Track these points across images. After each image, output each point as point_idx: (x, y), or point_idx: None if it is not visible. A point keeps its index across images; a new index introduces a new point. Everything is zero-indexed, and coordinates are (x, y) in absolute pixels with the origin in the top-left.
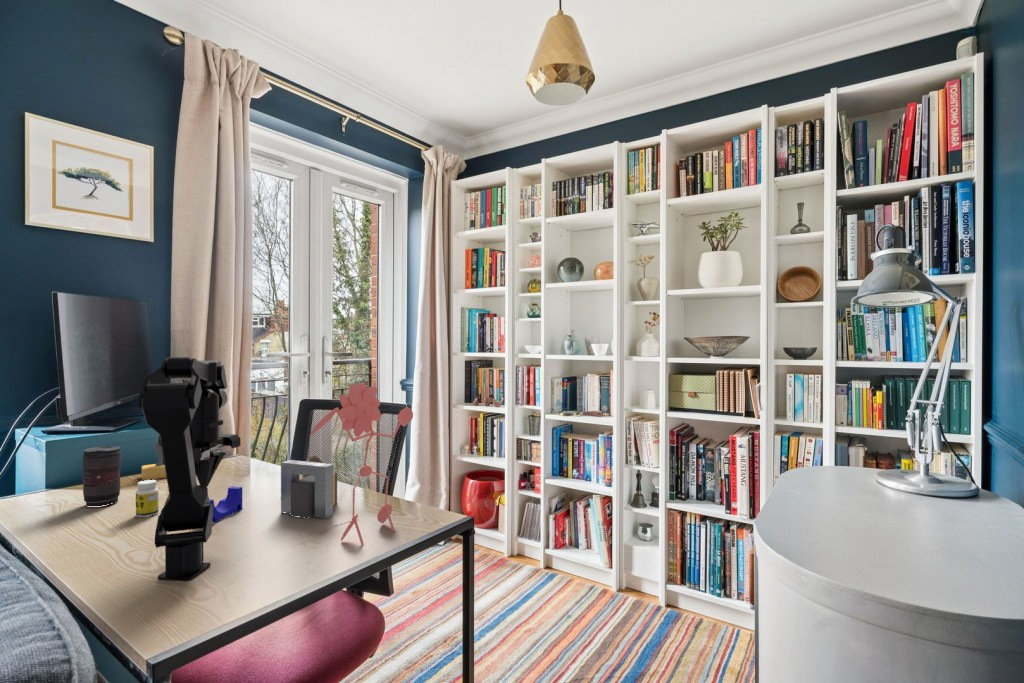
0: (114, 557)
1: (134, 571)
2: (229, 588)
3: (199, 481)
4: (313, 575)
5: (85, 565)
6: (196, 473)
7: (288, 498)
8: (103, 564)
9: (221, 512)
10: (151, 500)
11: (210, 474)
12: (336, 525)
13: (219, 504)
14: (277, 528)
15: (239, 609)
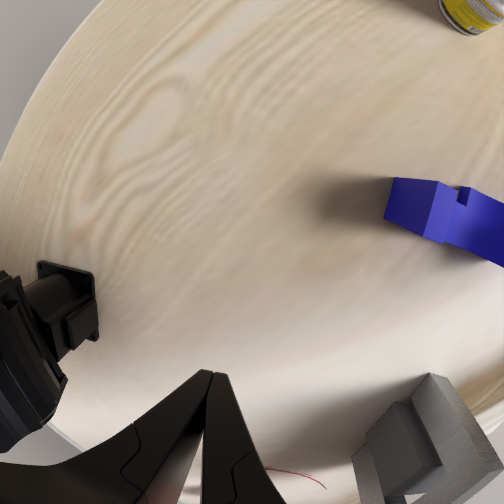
0: (141, 70)
1: (65, 184)
2: None
3: (177, 393)
4: None
5: (106, 44)
6: (130, 432)
7: (429, 417)
8: (104, 78)
9: (449, 233)
10: (474, 8)
11: (185, 477)
12: (304, 476)
13: (496, 207)
14: (317, 405)
15: None
